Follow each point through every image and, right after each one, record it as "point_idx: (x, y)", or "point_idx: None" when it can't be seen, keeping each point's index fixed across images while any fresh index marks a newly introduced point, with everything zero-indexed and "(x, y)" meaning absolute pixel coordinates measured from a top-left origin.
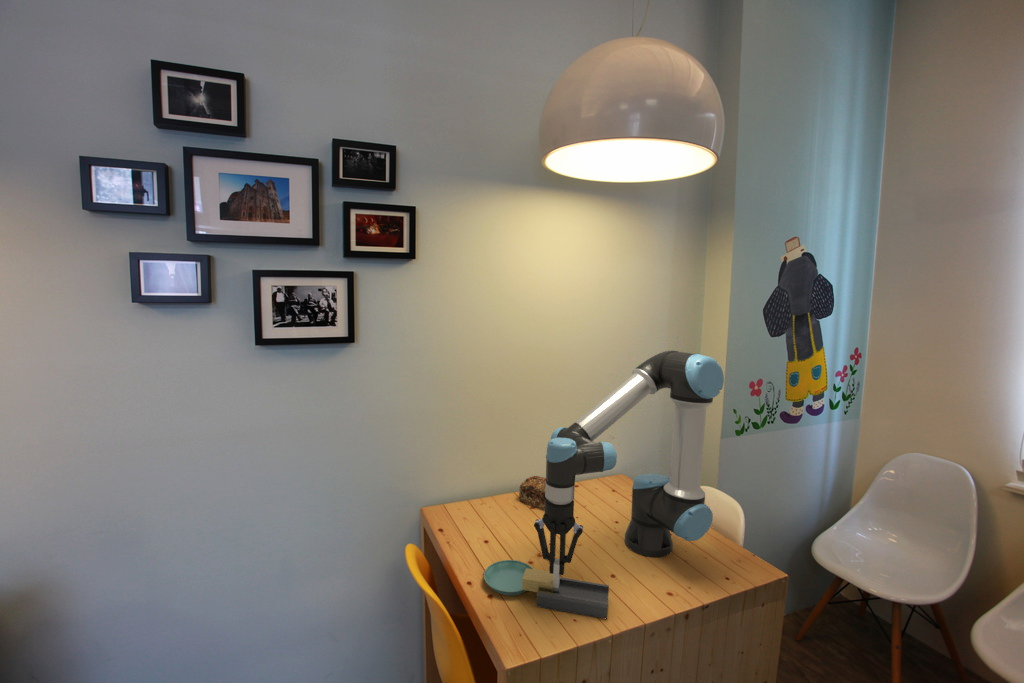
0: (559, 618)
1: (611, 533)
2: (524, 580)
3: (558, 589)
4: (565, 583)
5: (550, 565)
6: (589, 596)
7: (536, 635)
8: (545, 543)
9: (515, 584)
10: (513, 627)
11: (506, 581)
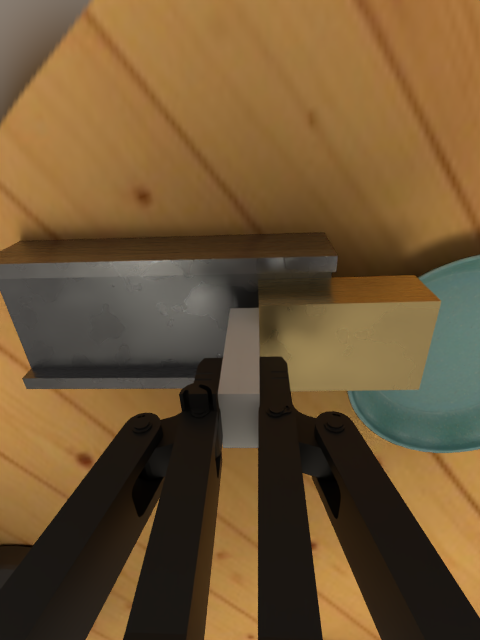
0: (209, 185)
1: None
2: (423, 297)
3: None
4: None
5: (283, 389)
6: (90, 313)
7: (298, 6)
8: (361, 551)
9: None
10: (430, 31)
11: (469, 349)
